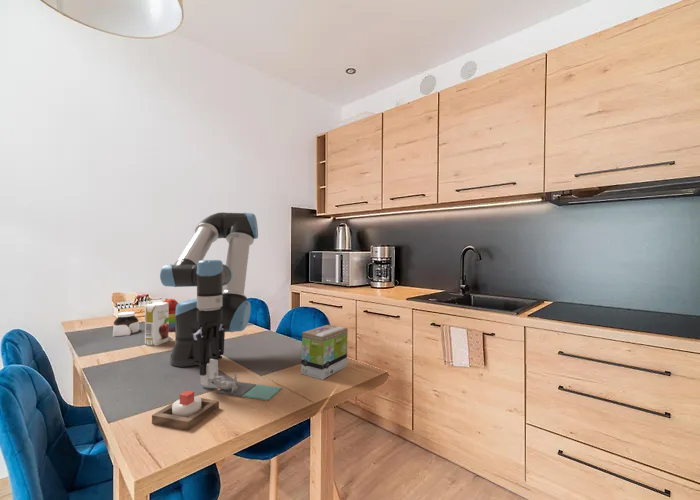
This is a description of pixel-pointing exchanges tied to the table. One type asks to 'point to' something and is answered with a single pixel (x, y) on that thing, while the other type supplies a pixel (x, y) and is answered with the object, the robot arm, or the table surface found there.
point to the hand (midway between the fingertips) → (209, 381)
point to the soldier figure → (225, 383)
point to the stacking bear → (171, 313)
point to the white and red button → (186, 405)
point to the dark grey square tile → (242, 389)
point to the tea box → (324, 351)
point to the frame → (185, 423)
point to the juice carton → (156, 323)
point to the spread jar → (125, 324)
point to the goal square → (262, 392)
